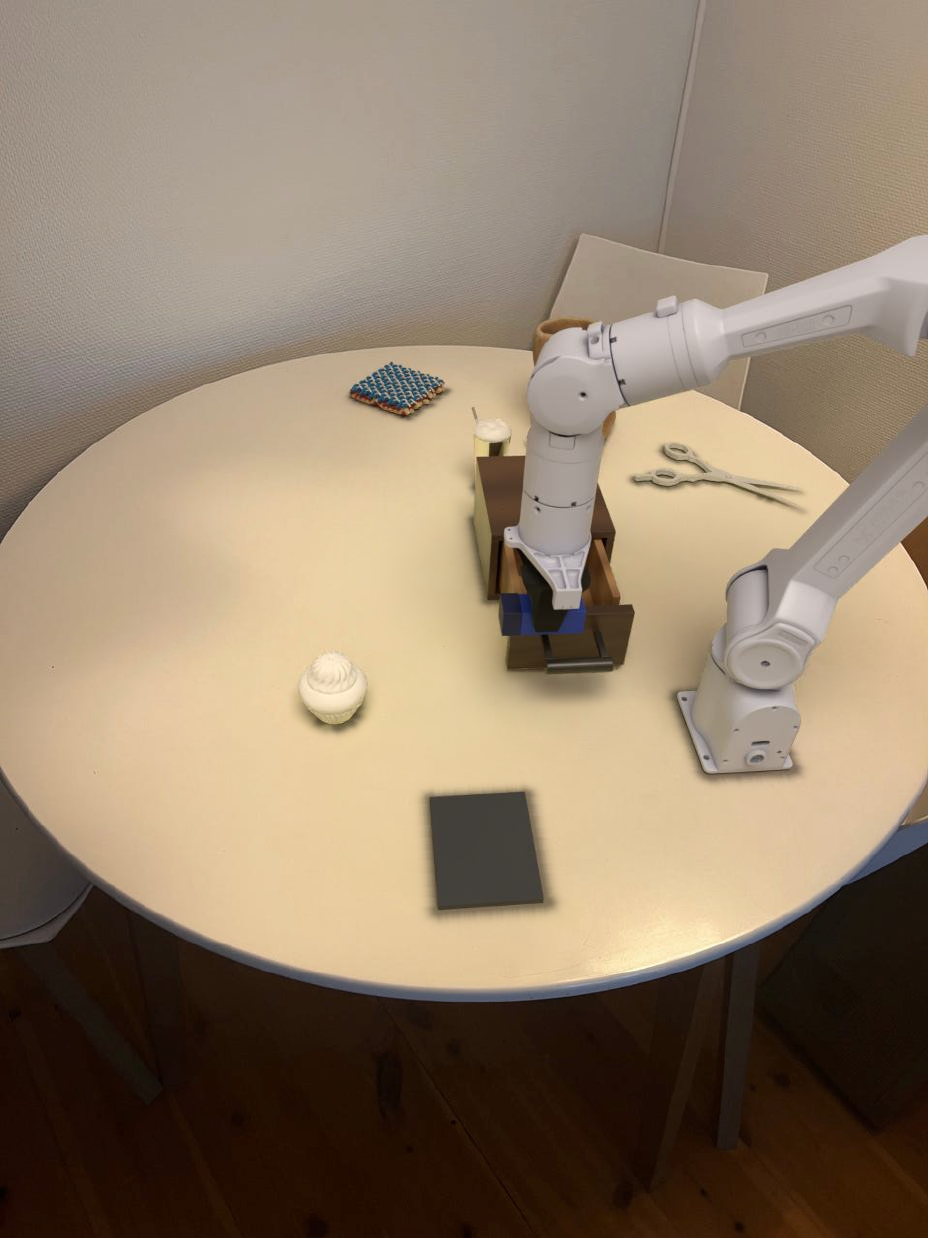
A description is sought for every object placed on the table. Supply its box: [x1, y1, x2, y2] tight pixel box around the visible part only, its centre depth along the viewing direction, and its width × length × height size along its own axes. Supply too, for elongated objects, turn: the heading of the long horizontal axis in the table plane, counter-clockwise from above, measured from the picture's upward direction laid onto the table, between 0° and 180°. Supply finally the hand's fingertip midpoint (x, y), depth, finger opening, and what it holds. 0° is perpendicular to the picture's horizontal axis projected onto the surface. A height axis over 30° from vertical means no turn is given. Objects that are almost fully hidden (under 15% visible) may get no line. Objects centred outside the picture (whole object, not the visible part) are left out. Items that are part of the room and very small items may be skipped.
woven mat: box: [348, 361, 446, 416], centre depth 125 cm, size 10×11×2 cm
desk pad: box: [429, 791, 545, 911], centre depth 70 cm, size 10×8×1 cm
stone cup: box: [532, 316, 617, 441], centre depth 114 cm, size 15×12×15 cm
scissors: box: [633, 441, 803, 507], centre depth 111 cm, size 11×1×20 cm
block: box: [497, 593, 586, 637], centre depth 77 cm, size 3×7×3 cm, turn 95°
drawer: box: [498, 538, 636, 676], centre depth 86 cm, size 18×11×7 cm, turn 5°
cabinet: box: [473, 455, 617, 601], centre depth 96 cm, size 15×13×9 cm
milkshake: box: [471, 406, 513, 476], centre depth 106 cm, size 4×5×10 cm
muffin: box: [297, 650, 369, 726], centre depth 78 cm, size 6×6×7 cm
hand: (543, 617), depth 78 cm, fingers closed on block, 2 cm apart
